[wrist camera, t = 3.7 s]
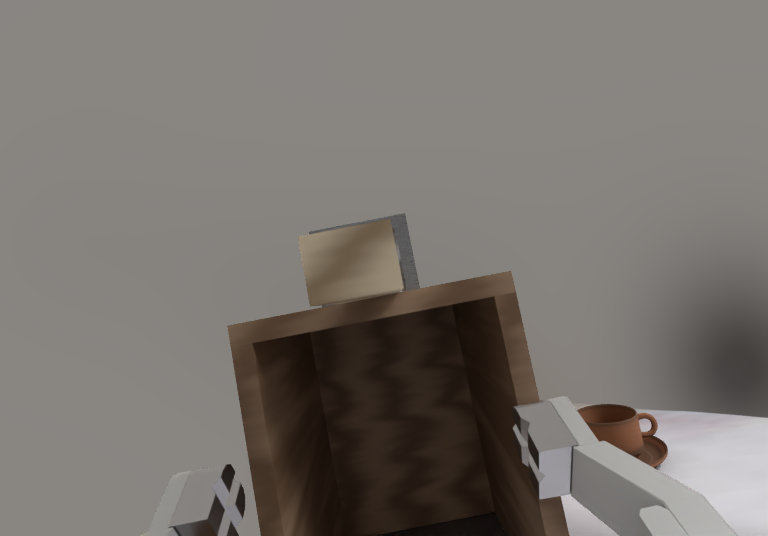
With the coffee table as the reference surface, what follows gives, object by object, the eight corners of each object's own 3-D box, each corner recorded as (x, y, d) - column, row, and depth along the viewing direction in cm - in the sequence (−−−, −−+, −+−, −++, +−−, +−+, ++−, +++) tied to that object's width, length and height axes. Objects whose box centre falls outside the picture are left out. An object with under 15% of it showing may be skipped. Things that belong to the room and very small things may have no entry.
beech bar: (394, 295, 45) (389, 269, 45) (403, 288, 17) (390, 218, 17) (359, 302, 45) (354, 275, 45) (310, 306, 17) (297, 236, 17)
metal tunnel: (412, 291, 41) (400, 234, 41) (419, 288, 31) (404, 213, 31) (338, 305, 41) (328, 248, 41) (322, 307, 31) (308, 231, 31)
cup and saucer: (612, 435, 59) (603, 393, 60) (695, 462, 48) (682, 410, 48) (545, 460, 55) (536, 415, 56) (618, 495, 44) (605, 439, 45)
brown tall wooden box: (504, 502, 47) (458, 283, 49) (598, 667, 26) (511, 270, 28) (335, 535, 47) (296, 314, 49) (291, 728, 26) (227, 325, 28)
